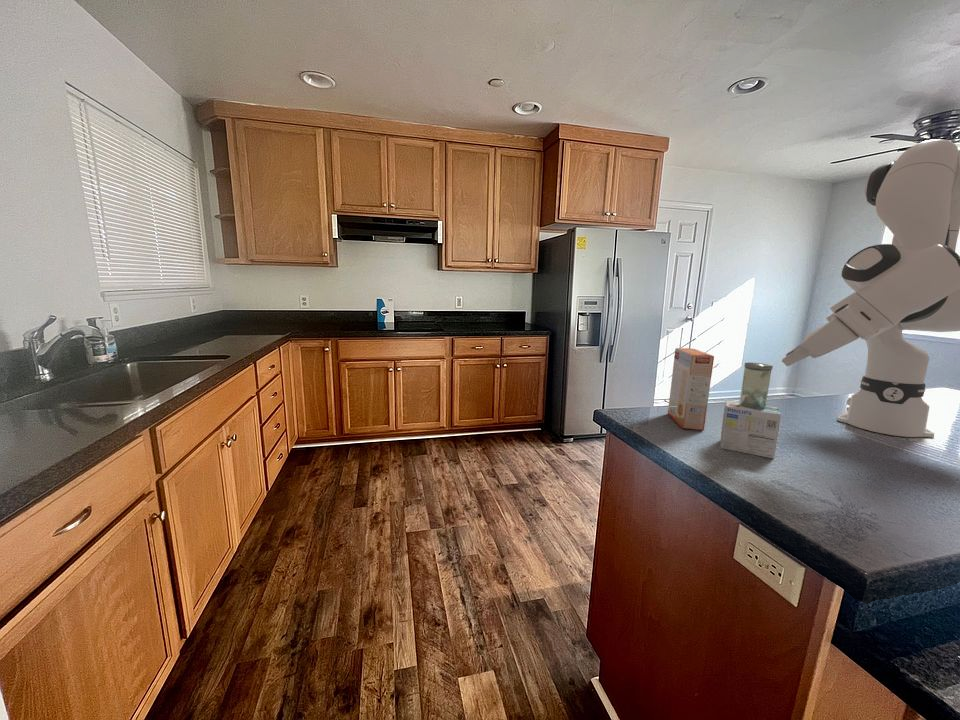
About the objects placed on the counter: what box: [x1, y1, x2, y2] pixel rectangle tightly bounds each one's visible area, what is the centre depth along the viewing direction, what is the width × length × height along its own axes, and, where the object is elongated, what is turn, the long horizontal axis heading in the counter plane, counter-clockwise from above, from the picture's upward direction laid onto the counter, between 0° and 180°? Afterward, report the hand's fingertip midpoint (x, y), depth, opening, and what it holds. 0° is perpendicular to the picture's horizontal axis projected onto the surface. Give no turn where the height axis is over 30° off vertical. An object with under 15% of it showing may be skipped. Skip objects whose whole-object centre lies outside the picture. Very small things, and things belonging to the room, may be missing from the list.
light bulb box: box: [719, 400, 782, 459], centre depth 89 cm, size 11×7×11 cm, turn 57°
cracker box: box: [667, 347, 715, 431], centre depth 106 cm, size 14×6×21 cm, turn 168°
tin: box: [739, 362, 773, 409], centre depth 87 cm, size 5×5×10 cm
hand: (786, 360), depth 82 cm, fingers open, 8 cm apart
